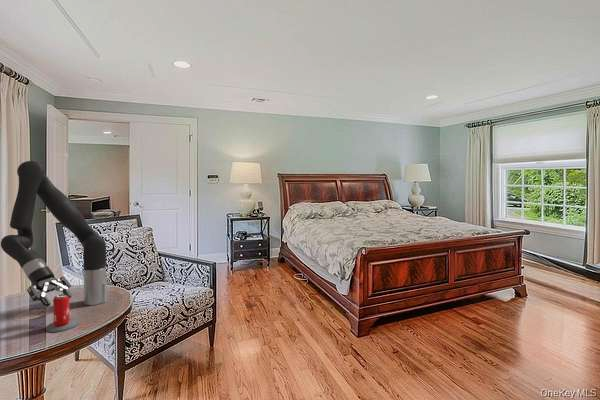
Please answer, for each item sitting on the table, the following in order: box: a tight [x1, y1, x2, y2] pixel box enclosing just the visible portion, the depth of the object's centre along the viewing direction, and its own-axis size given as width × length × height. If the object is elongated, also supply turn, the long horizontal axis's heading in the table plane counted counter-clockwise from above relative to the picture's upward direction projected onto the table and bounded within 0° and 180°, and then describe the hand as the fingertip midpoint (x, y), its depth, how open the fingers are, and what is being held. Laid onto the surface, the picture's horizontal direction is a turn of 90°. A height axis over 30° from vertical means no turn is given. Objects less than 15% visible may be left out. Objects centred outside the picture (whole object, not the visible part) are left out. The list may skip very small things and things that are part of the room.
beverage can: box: [52, 293, 70, 327], centre depth 128 cm, size 5×5×12 cm
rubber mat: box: [45, 317, 80, 333], centre depth 129 cm, size 11×11×1 cm
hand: (59, 301), depth 129 cm, fingers open, 8 cm apart
